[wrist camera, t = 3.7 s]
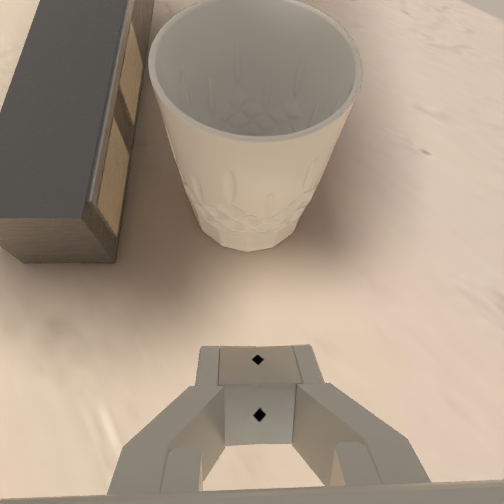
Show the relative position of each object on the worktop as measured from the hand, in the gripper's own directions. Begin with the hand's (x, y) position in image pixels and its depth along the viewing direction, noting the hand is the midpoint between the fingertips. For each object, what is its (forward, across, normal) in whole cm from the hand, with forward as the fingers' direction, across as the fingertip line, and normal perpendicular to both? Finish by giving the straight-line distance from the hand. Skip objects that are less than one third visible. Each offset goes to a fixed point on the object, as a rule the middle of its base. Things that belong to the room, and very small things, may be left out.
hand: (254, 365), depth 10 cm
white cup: (+14, 0, -1) cm, 14 cm away
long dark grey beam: (+20, +10, -7) cm, 23 cm away
